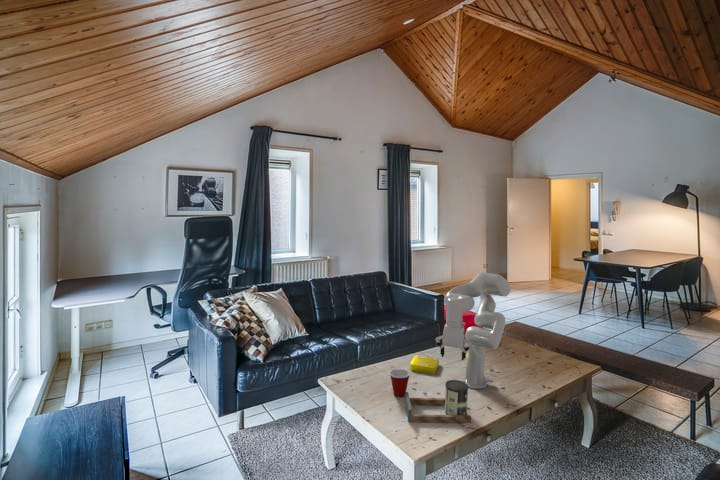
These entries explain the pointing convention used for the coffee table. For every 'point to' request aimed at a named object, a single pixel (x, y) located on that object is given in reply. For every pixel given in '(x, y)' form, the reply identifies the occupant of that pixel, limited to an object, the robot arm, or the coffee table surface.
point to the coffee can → (456, 397)
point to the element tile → (424, 364)
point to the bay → (431, 418)
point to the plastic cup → (399, 381)
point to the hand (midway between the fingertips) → (452, 357)
